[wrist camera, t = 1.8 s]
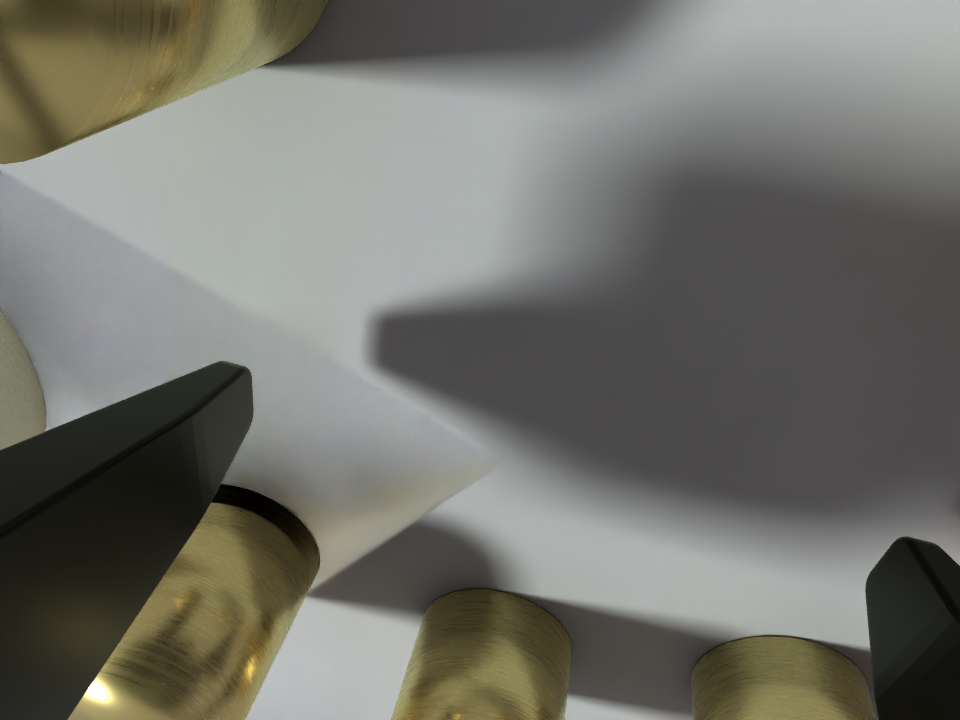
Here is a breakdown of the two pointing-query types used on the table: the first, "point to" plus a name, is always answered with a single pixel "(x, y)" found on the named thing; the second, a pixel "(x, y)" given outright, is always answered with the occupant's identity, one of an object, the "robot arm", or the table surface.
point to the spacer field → (264, 522)
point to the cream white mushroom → (18, 389)
